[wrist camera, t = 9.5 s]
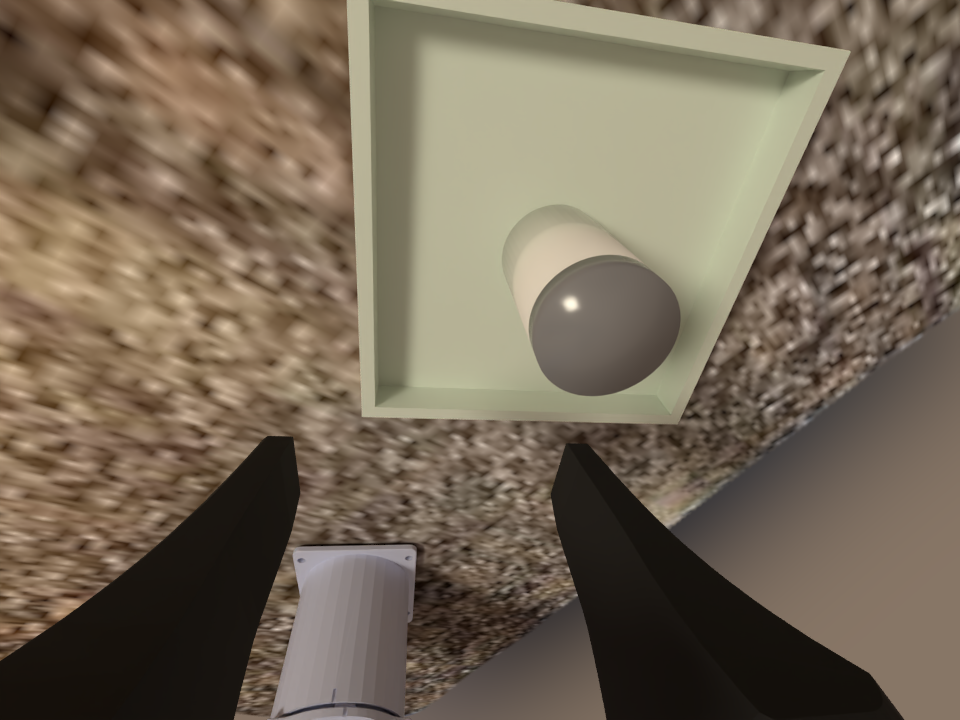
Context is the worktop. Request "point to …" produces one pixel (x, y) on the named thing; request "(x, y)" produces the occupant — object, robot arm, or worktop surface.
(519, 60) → the tray
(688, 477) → the worktop surface
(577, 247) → the cylinder
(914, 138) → the worktop surface
